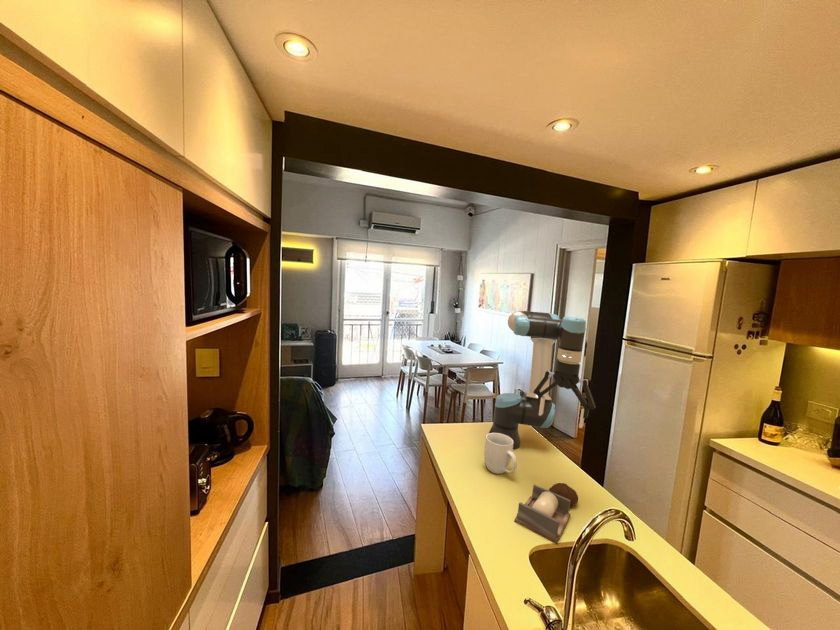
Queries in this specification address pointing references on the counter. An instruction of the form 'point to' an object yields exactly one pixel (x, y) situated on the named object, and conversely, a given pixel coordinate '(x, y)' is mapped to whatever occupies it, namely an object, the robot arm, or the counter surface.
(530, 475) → the counter surface
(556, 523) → the cradle
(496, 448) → the mug
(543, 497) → the roll
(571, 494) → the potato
